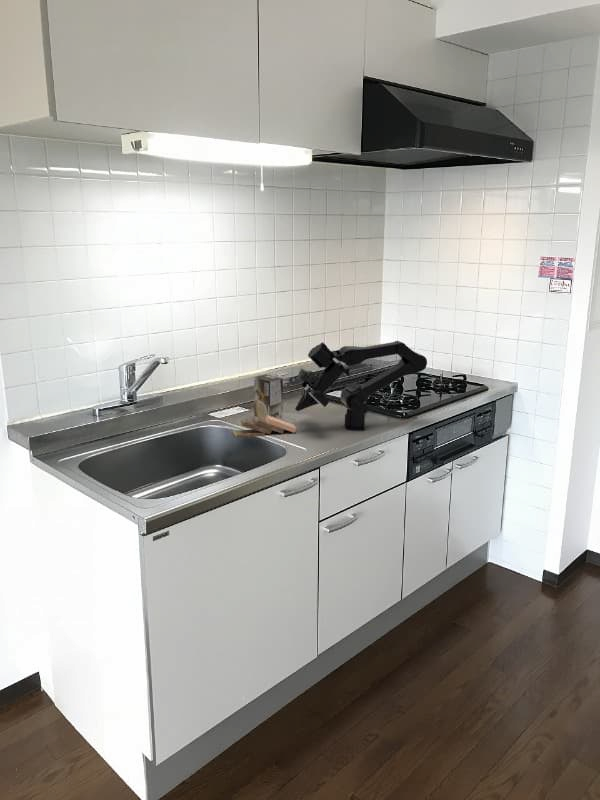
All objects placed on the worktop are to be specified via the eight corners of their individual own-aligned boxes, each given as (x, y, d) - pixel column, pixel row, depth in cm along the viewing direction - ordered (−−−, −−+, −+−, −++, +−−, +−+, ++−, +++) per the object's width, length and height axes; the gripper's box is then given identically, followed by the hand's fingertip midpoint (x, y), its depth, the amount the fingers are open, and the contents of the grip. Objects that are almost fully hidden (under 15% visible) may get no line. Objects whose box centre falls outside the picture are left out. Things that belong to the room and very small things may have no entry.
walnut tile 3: (269, 426, 225) (242, 417, 222) (271, 430, 220) (243, 421, 217) (268, 430, 225) (240, 422, 222) (270, 434, 220) (242, 425, 218)
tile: (293, 424, 227) (267, 415, 224) (296, 428, 222) (269, 418, 219) (291, 428, 227) (265, 419, 224) (294, 432, 222) (267, 423, 219)
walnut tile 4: (261, 428, 224) (232, 430, 221) (264, 433, 219) (235, 435, 217) (261, 433, 224) (232, 435, 222) (264, 437, 220) (235, 439, 217)
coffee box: (283, 422, 234) (284, 378, 230) (270, 426, 230) (270, 381, 226) (266, 416, 241) (266, 373, 236) (253, 420, 236) (252, 376, 232)
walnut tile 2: (281, 425, 226) (254, 415, 223) (284, 429, 221) (257, 419, 218) (280, 429, 226) (253, 420, 223) (282, 433, 221) (255, 424, 218)
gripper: (305, 355, 228) (273, 387, 228) (320, 366, 210) (286, 401, 211) (326, 376, 232) (295, 408, 232) (342, 389, 214) (309, 423, 215)
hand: (296, 410), depth 222 cm, fingers closed
